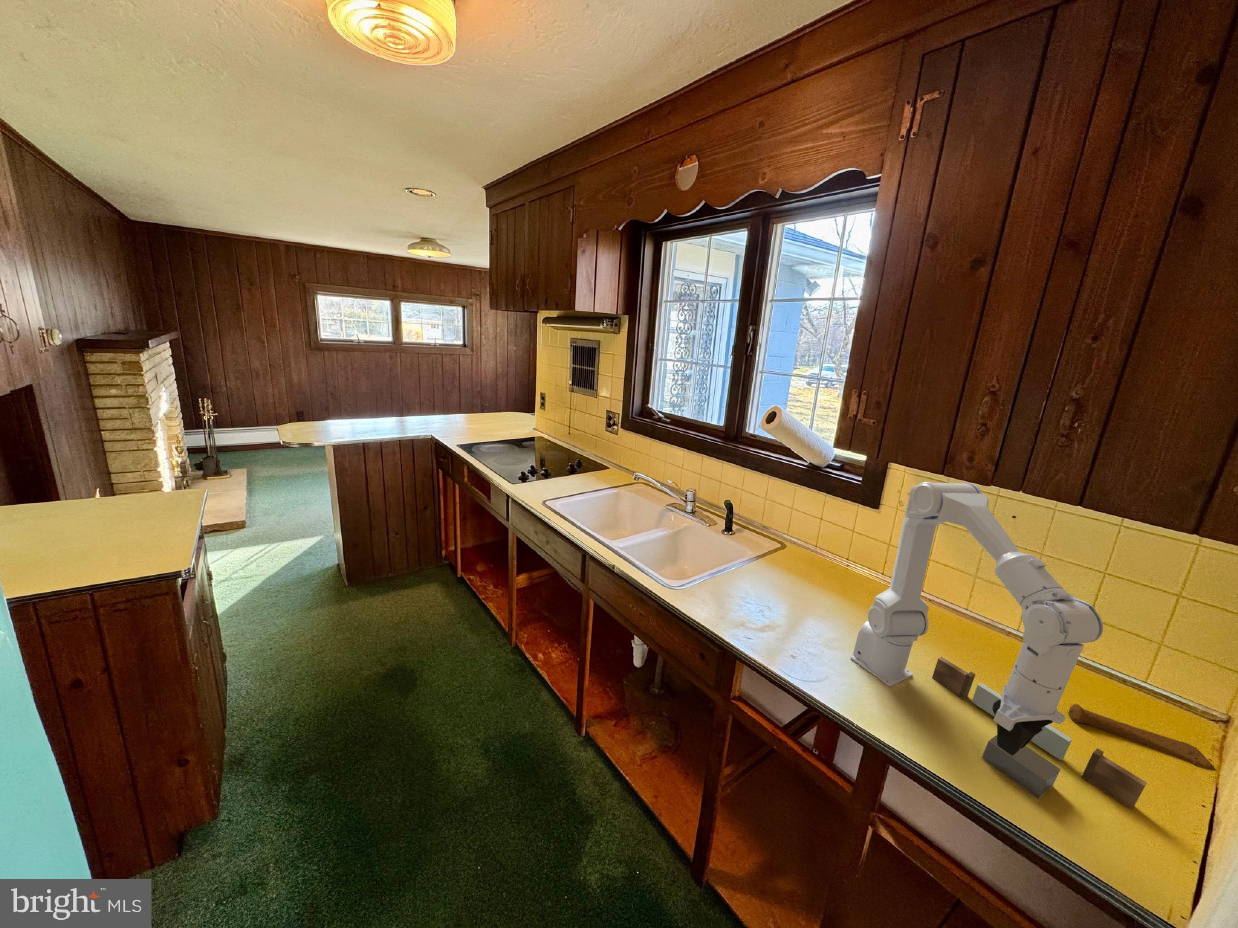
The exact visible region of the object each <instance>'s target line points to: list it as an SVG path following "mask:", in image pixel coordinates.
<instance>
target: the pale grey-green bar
mask: <svg viewBox="0 0 1238 928" xmlns="http://www.w3.org/2000/svg"><path fill="white" fill-rule="evenodd" d="M1001 698H1002V694H1000V693H998V692H996V691H995V690H993V689H991V688H990V687H989V686H987V685H985V684H984V683H982V682H979V683H978V684H977V685H976V688H975V691H974V693H973V697H972V699H971V703H972V704H974V705H975V706H977V707H979V708H980V709H981V710H983V711H985V712H987V713H988V714H989V715H991V716H993V717H994V718H995V714H994V712H993V710H992V707H993V704H994V703H995V702H996V701H998V700H999V699H1000V700H1001ZM1042 729H1043V730H1042V731H1041V732H1040V733H1038V734H1036V735H1035V736H1034V737H1033V738H1032V739H1031V741H1030V742H1032V743H1034V744H1035V745H1037V746H1038V747H1039V748H1041V749H1042V750H1044V751H1046V752H1047V753H1048V754H1050V755H1051V756H1053V757H1055V758H1056V759H1057V760H1059V761H1062V760H1063V759H1065V757H1066V754H1067V752H1068V750H1069V747H1070V746H1071V743H1072V740H1073V738H1071V737H1070V736H1069V735H1067V734H1065V733H1063V732H1062V731H1060V730H1058V729H1056V728H1055V727H1054V726H1051V724H1048V725H1046V726H1044V727H1043V728H1042Z"/></svg>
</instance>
